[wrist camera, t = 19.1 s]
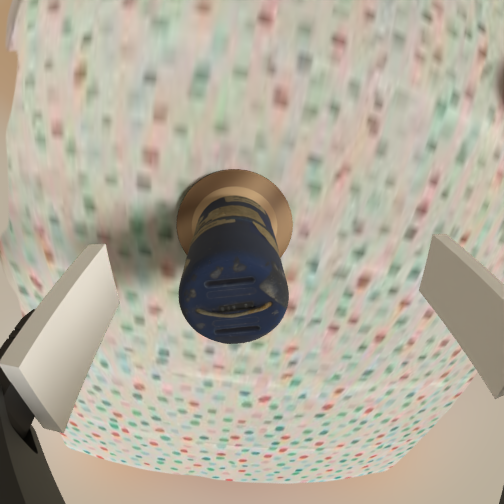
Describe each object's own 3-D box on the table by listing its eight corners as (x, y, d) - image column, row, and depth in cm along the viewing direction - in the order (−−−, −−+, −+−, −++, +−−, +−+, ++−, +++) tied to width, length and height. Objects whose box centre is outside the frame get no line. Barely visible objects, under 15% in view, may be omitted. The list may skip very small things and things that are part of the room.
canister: (201, 187, 39) (175, 254, 22) (278, 197, 40) (305, 270, 23) (194, 256, 43) (172, 350, 27) (264, 264, 44) (278, 361, 28)
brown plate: (155, 222, 41) (153, 224, 40) (239, 144, 37) (239, 145, 36) (231, 293, 47) (231, 296, 46) (313, 230, 43) (315, 232, 42)
